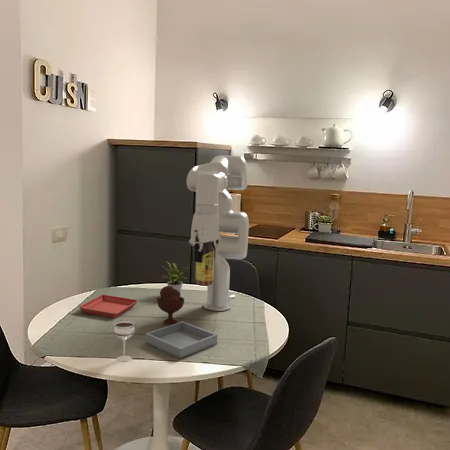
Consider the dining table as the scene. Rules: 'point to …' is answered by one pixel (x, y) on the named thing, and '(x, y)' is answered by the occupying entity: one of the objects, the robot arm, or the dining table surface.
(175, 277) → the house plant
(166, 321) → the ice cream bowl
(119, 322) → the wineglass
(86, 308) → the red square tray
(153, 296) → the dining table surface
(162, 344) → the parts tray
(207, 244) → the sauce bottle
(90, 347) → the dining table surface
